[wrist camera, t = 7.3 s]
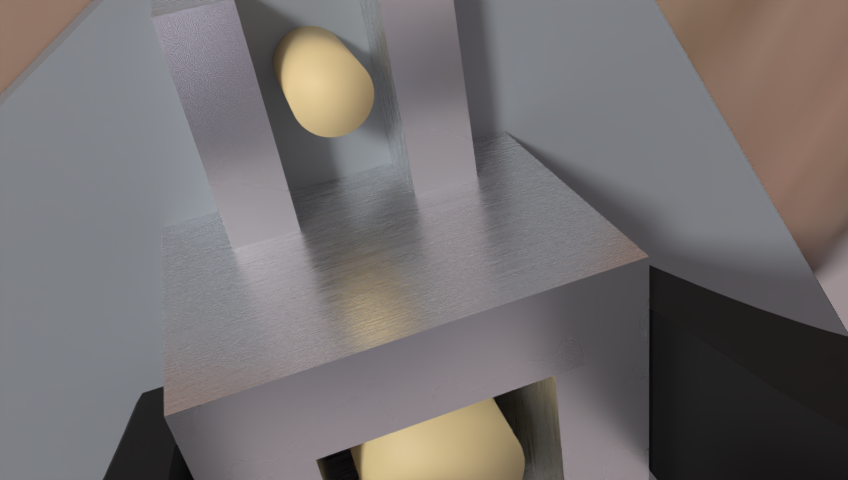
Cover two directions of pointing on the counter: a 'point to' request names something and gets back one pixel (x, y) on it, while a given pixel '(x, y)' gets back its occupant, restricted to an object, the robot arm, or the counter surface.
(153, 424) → the robot arm
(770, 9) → the counter surface
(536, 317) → the metal bracket with prongs
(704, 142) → the base plate
